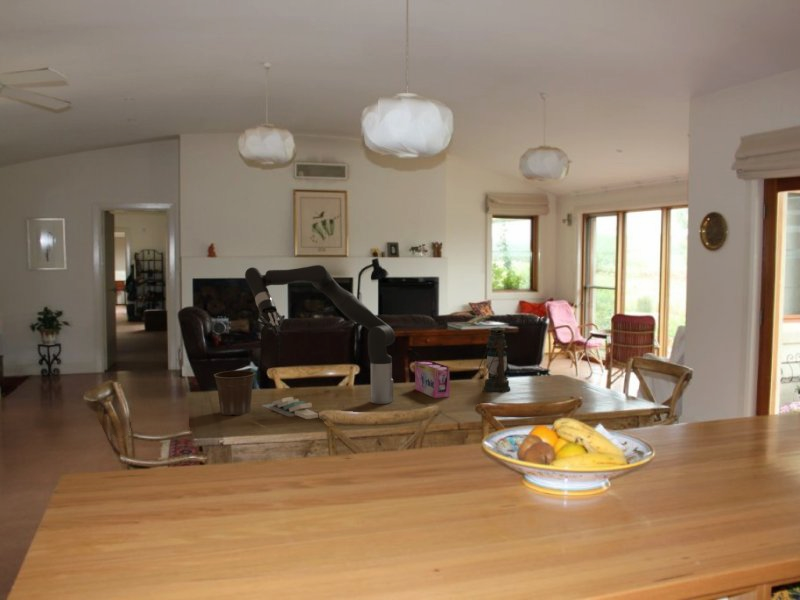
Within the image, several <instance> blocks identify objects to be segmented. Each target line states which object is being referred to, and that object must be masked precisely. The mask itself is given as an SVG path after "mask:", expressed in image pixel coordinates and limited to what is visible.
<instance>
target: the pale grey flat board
mask: <svg viewBox="0 0 800 600" xmlns="http://www.w3.org/2000/svg"><path fill="white" fill-rule="evenodd" d="M260 406H262V407H263V408H267V409H269V410H270V411H274V412H276V413H279V414H281V415H284V416H287V417H289V418H290V417H295V416H297V415H295V411H294V412H289V409H288V410H284V408H283V407H281V408H278V405H275V406H273V404H272V403H268V404H261V405H260ZM309 410H310V411H313V410H311V409H309ZM313 412H315V411H313Z"/></svg>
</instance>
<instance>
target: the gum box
mask: <svg viewBox="0 0 800 600" xmlns="http://www.w3.org/2000/svg"><path fill="white" fill-rule="evenodd" d="M414 376H415V377H414V378H415V379H414V381H415V382H414V384H415V385H414V390H416V391H418V392H421V393H423V394H425V395H427V396H429V397H430V398H431V397H432V398H434V399H437V398H449V397H450V395H451V393H450V367H449V366H448V365H444V364H443V363H442V364H441V363H438V362H435V361H432V360H431V359H430V360H427V359H426V360H418V361H417V360H415V361H414Z"/></svg>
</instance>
